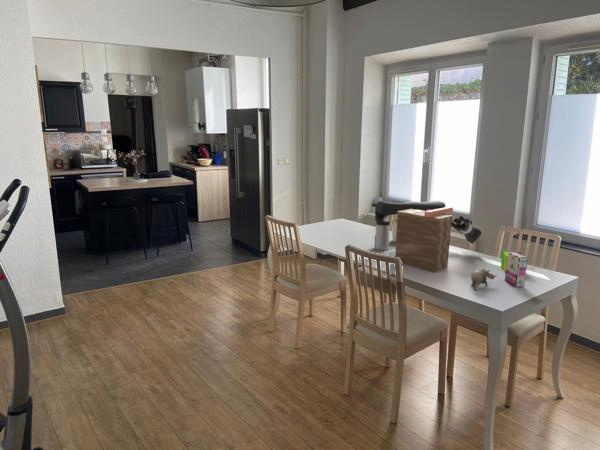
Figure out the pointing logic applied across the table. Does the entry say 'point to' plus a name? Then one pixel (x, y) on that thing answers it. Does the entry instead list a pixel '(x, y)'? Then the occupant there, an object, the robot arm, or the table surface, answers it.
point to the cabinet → (423, 239)
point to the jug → (394, 229)
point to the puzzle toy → (505, 260)
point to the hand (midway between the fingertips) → (453, 216)
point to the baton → (438, 211)
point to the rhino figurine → (480, 278)
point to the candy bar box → (516, 269)
